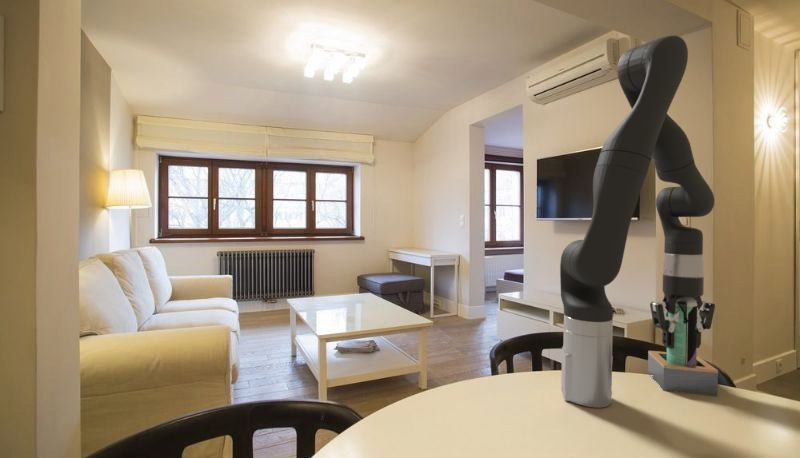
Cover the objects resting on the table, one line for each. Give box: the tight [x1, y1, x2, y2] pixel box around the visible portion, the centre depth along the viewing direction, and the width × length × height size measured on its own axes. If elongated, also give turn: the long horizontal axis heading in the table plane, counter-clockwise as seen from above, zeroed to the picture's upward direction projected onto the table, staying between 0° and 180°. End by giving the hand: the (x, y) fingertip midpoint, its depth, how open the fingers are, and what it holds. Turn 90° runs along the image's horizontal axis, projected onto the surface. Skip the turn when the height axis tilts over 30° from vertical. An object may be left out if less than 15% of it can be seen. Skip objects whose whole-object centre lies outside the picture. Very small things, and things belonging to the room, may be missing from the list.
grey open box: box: [647, 350, 719, 397], centre depth 87 cm, size 10×10×6 cm
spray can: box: [666, 297, 698, 366], centre depth 87 cm, size 6×6×20 cm
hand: (681, 347), depth 87 cm, fingers closed on spray can, 5 cm apart
